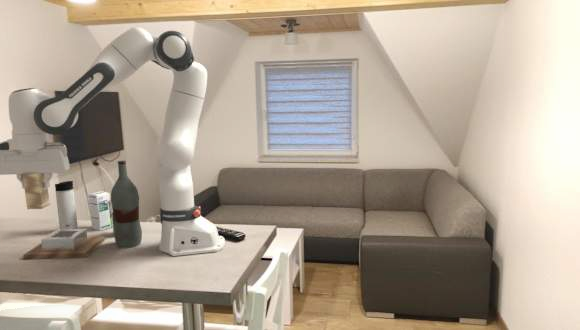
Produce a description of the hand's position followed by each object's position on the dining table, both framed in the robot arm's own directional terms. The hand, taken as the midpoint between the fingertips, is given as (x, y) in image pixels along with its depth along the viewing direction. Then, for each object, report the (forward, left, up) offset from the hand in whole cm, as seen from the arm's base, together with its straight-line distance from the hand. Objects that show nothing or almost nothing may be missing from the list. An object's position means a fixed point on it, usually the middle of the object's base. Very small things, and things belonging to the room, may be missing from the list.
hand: (36, 187), depth 131 cm
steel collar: (0, -13, -23) cm, 27 cm away
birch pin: (0, 0, -6) cm, 6 cm away
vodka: (-21, -16, -25) cm, 36 cm away
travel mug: (+8, -34, -25) cm, 43 cm away
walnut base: (0, -13, -25) cm, 28 cm away
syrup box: (-4, -36, -25) cm, 44 cm away
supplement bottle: (-15, -28, -25) cm, 41 cm away
